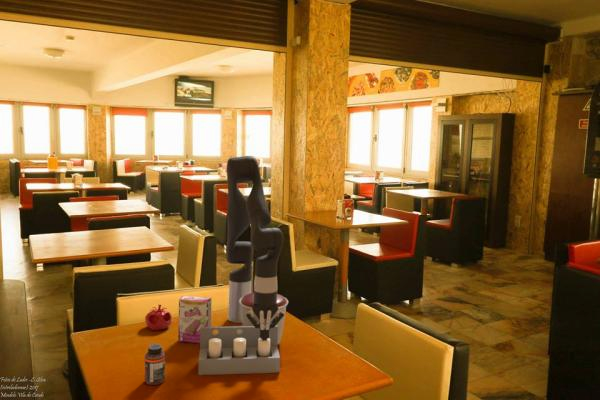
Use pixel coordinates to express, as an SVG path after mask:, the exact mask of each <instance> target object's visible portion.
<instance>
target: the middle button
mask: <svg viewBox="0 0 600 400" xmlns="http://www.w3.org/2000/svg"><path fill="white" fill-rule="evenodd" d="M233 355H234V356H235V357H244V356H245V355H246V339H244V338H236V339H234V353H233Z"/></svg>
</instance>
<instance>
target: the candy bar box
mask: <svg viewBox="0 0 600 400" xmlns="http://www.w3.org/2000/svg"><path fill="white" fill-rule="evenodd" d="M212 300H213V299H212V297H207V296H206V297H205V296H202V297H201V296H193V295H182V296H181V297H180V298H179V299H178V339H177V340H178V342H180V343H190V344H192V343H193V344H200V331H201V327H212Z"/></svg>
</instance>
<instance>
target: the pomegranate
mask: <svg viewBox="0 0 600 400" xmlns="http://www.w3.org/2000/svg"><path fill="white" fill-rule="evenodd" d="M161 308H162V304H158V308H157V307H156V306H153V307H152V308H151V309H150V310H149V312H148V313H147V314H146V315H145V317H144V318H145V319H144V320H145V325H146V326H147V328H149V329H150V330H152V331H161V330H166V329H167V328H169V327H170V325H171V324H172V313H171V312H170V311H168V310H165V309H168V307H163V308H162V309H161Z"/></svg>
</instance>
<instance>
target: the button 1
mask: <svg viewBox="0 0 600 400" xmlns="http://www.w3.org/2000/svg"><path fill="white" fill-rule="evenodd" d="M220 356H221V339H218V338H213V339H210V340H209V357H210V358H219V357H220Z"/></svg>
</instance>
